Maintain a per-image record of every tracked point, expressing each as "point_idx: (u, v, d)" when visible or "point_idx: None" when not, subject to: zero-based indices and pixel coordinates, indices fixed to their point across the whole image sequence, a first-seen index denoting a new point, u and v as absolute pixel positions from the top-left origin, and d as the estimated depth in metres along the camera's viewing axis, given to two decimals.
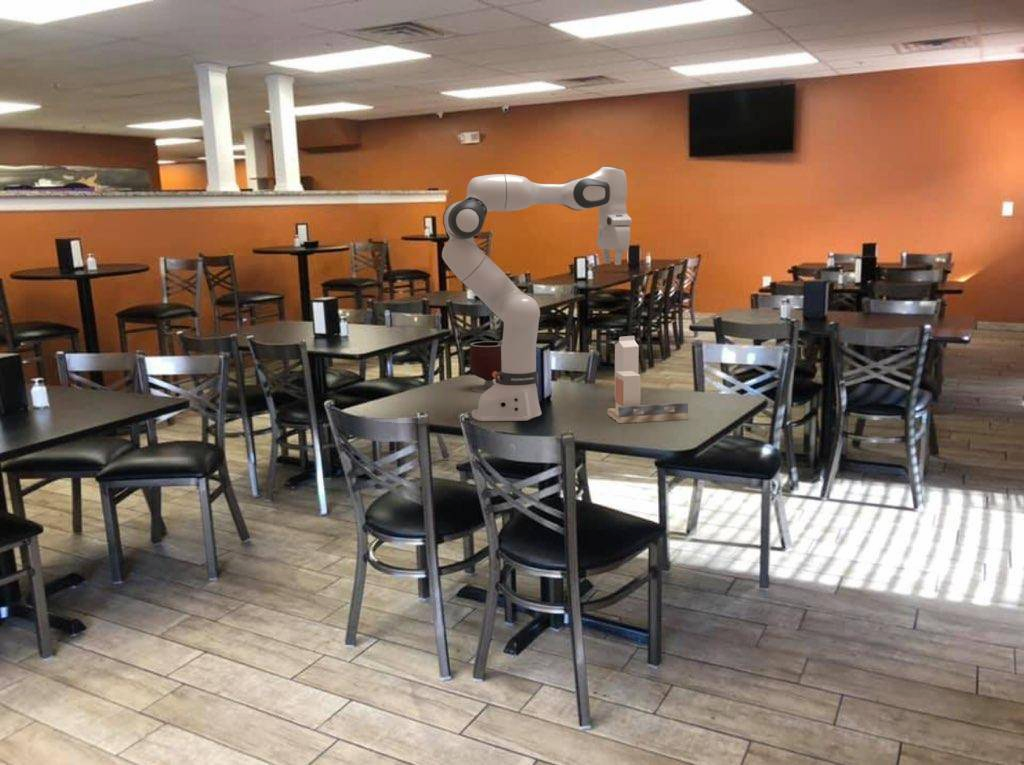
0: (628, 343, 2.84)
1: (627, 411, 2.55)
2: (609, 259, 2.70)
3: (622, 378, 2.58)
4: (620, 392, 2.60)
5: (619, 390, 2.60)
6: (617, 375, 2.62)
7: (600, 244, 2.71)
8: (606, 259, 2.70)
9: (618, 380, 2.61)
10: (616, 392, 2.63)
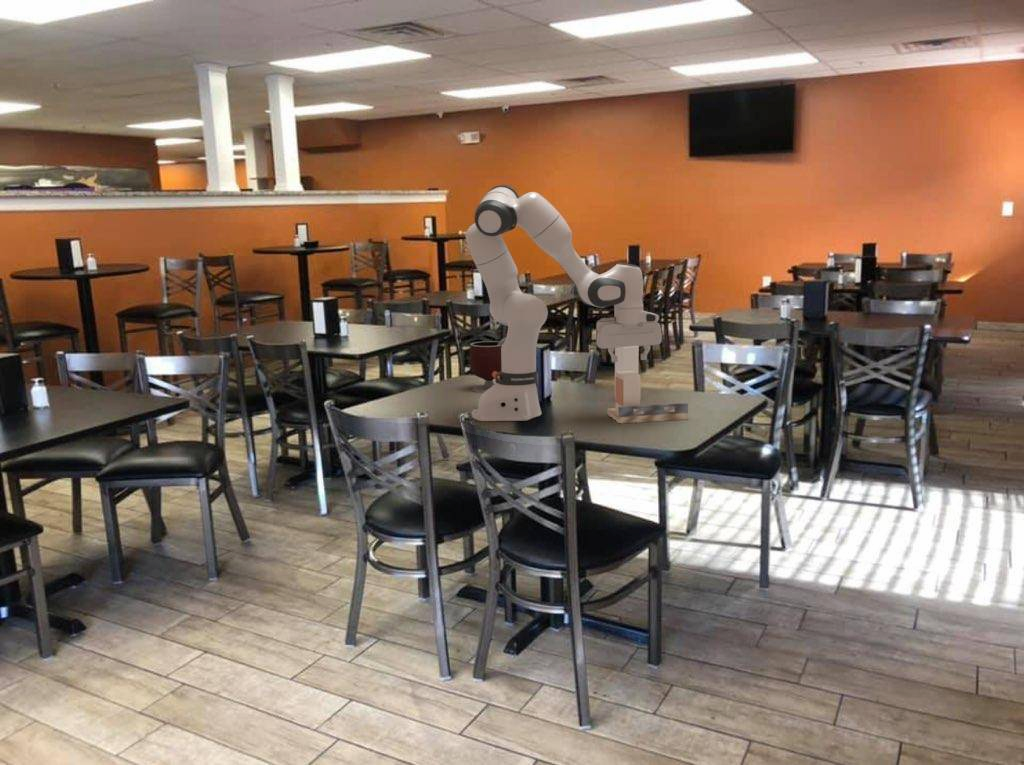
0: None
1: (627, 411, 2.55)
2: None
3: (622, 378, 2.58)
4: (620, 392, 2.60)
5: (619, 390, 2.60)
6: (617, 375, 2.62)
7: (610, 344, 2.56)
8: None
9: (618, 380, 2.61)
10: (616, 392, 2.63)
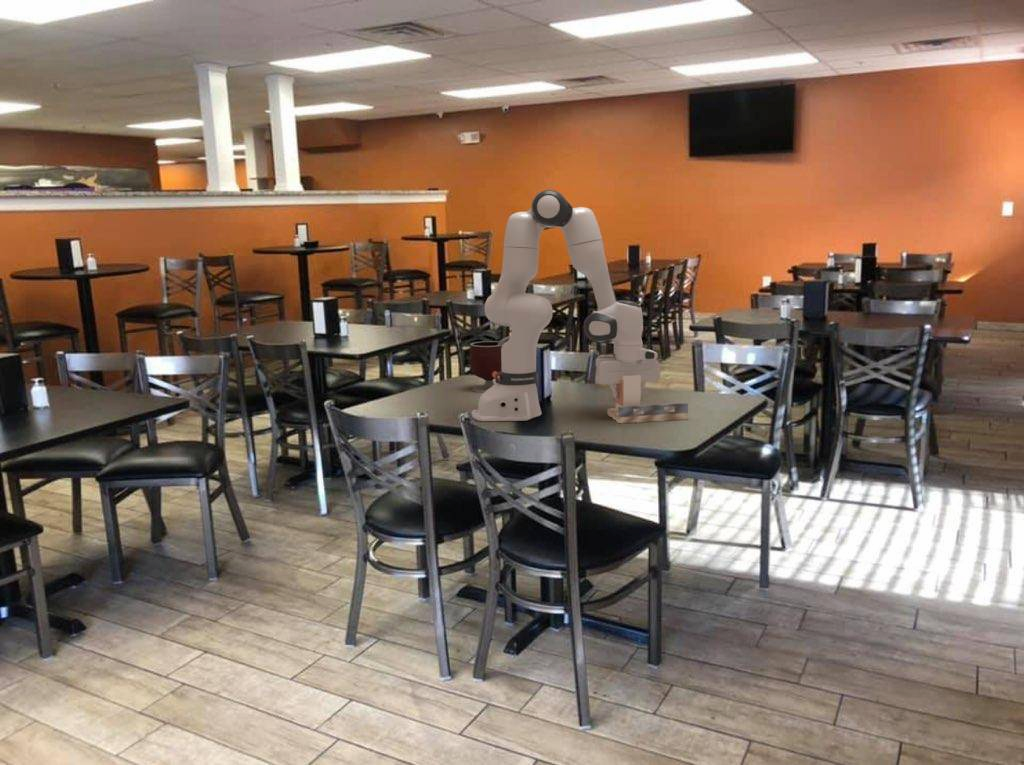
0: None
1: (627, 411, 2.55)
2: None
3: (622, 378, 2.58)
4: (620, 392, 2.60)
5: (619, 390, 2.60)
6: None
7: (609, 380, 2.58)
8: None
9: None
10: None
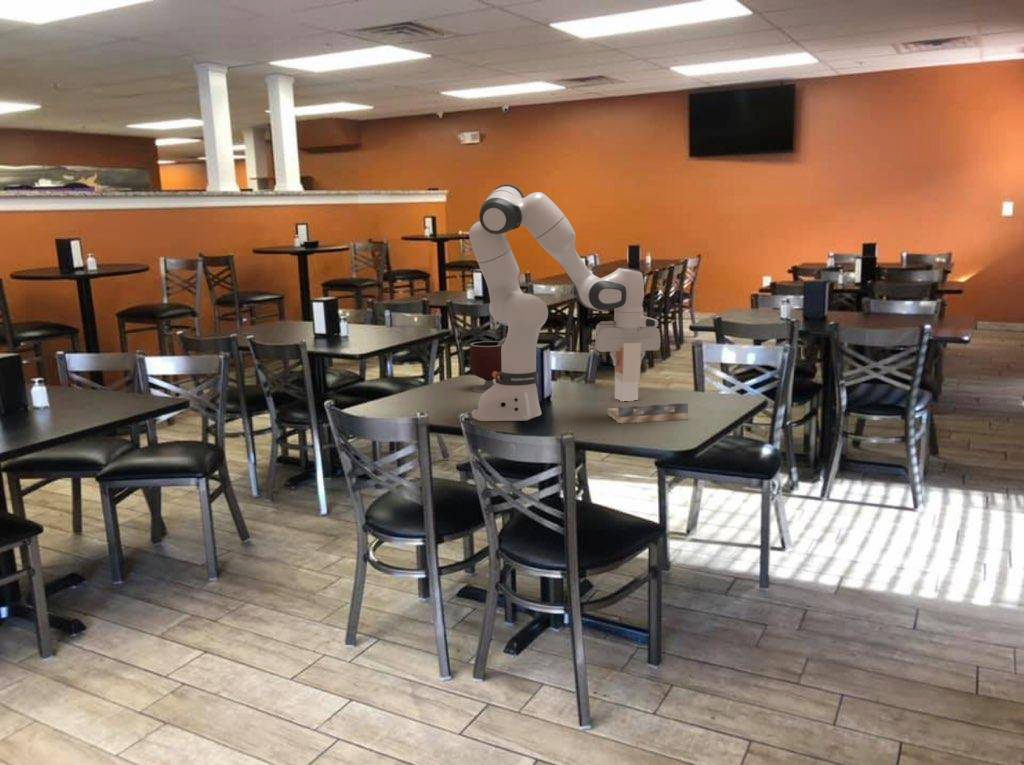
0: None
1: (627, 411, 2.55)
2: None
3: (622, 345, 2.56)
4: (620, 360, 2.58)
5: (619, 358, 2.59)
6: None
7: (609, 347, 2.56)
8: (618, 361, 2.59)
9: None
10: None
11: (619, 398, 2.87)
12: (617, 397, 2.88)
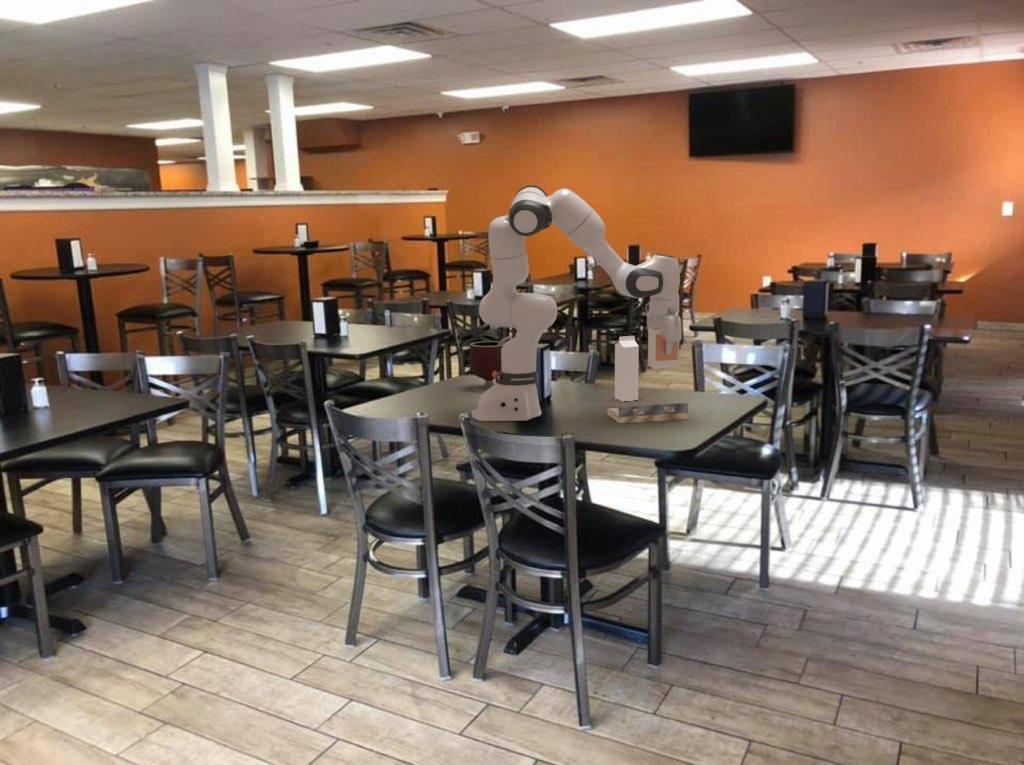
0: (628, 343, 2.84)
1: (627, 411, 2.55)
2: None
3: None
4: (672, 347, 2.57)
5: None
6: (660, 332, 2.56)
7: None
8: None
9: None
10: (660, 350, 2.56)
11: (619, 398, 2.87)
12: (617, 397, 2.88)
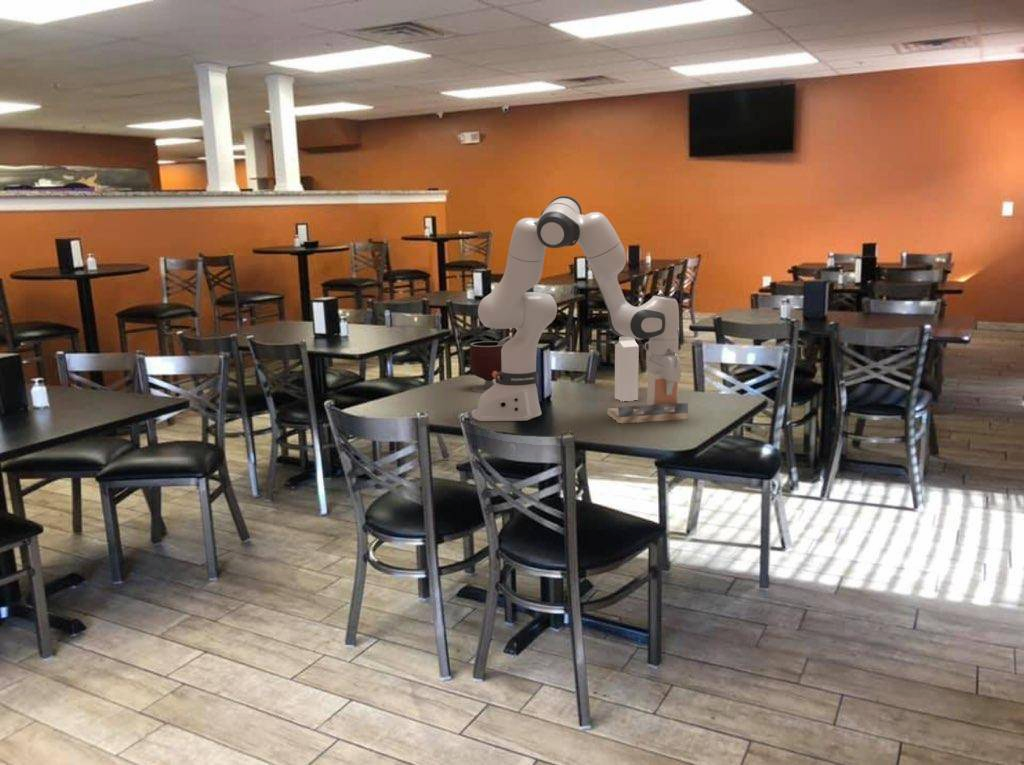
0: (628, 343, 2.84)
1: (627, 411, 2.55)
2: None
3: None
4: None
5: None
6: (659, 377, 2.58)
7: None
8: None
9: (665, 380, 2.59)
10: (659, 394, 2.59)
11: (619, 398, 2.87)
12: (617, 397, 2.88)
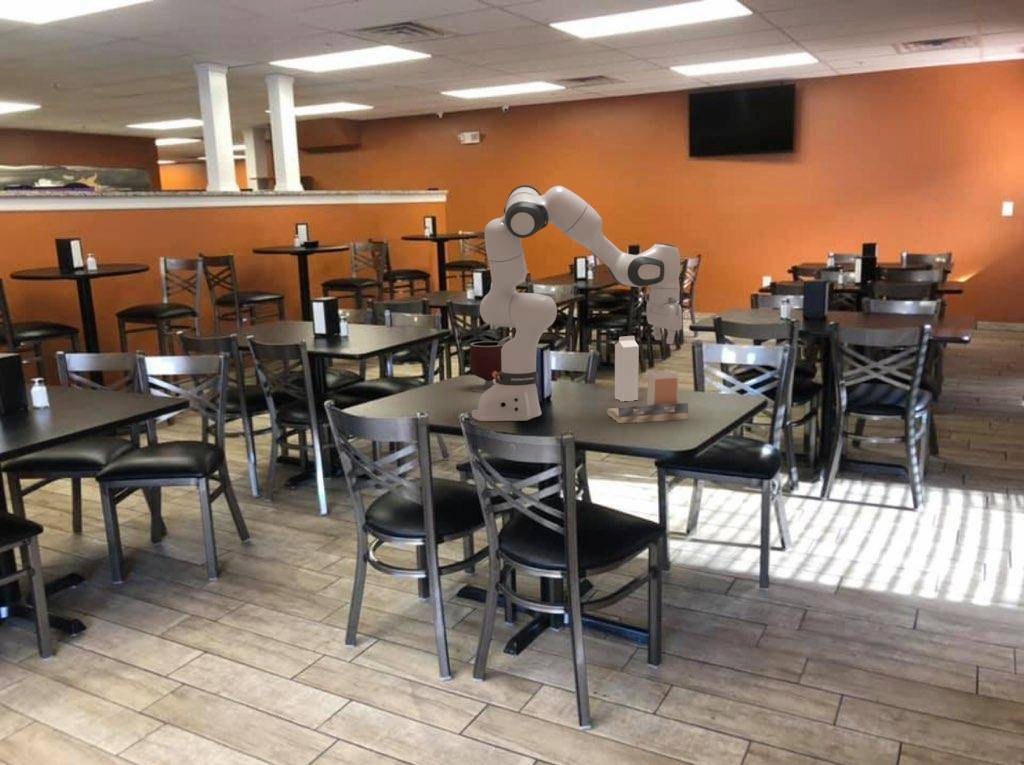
0: (628, 343, 2.84)
1: (627, 411, 2.55)
2: None
3: (674, 376, 2.59)
4: (671, 391, 2.60)
5: (668, 390, 2.60)
6: (659, 377, 2.58)
7: None
8: None
9: (665, 380, 2.59)
10: (659, 394, 2.59)
11: (619, 398, 2.87)
12: (617, 397, 2.88)
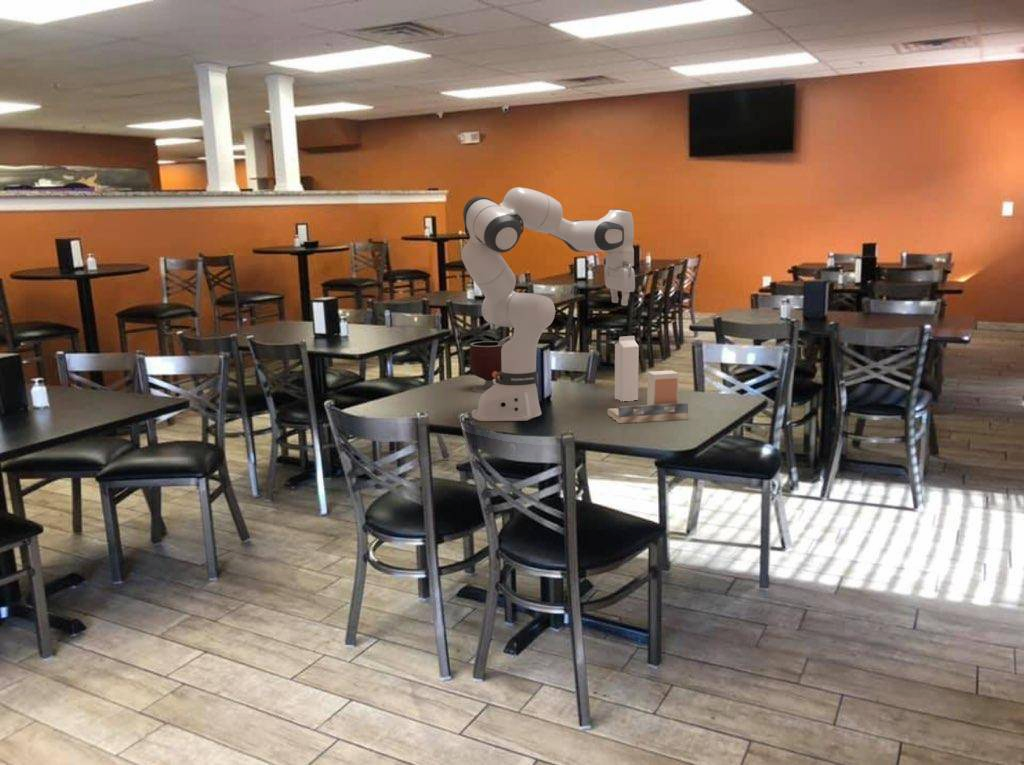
0: (628, 343, 2.84)
1: (627, 411, 2.55)
2: None
3: (674, 376, 2.59)
4: (671, 391, 2.60)
5: (668, 390, 2.60)
6: (659, 377, 2.58)
7: None
8: None
9: (665, 380, 2.59)
10: (659, 394, 2.59)
11: (619, 398, 2.87)
12: (617, 397, 2.88)
